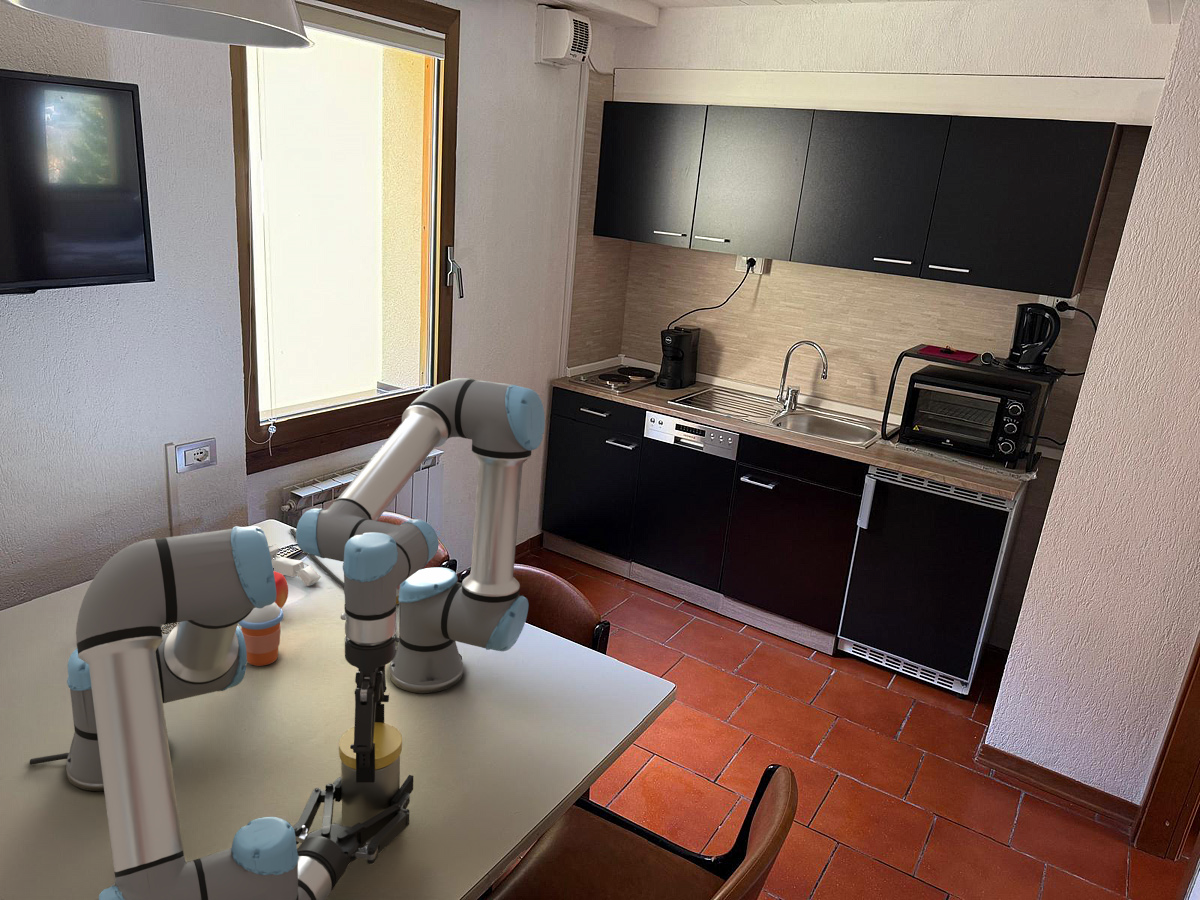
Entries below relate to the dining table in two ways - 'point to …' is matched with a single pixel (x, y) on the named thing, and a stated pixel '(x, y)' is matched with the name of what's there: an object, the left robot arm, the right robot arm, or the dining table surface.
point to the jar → (368, 793)
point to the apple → (280, 589)
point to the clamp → (293, 567)
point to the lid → (385, 746)
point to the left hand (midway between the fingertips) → (383, 775)
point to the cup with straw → (262, 634)
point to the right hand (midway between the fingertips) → (370, 759)
